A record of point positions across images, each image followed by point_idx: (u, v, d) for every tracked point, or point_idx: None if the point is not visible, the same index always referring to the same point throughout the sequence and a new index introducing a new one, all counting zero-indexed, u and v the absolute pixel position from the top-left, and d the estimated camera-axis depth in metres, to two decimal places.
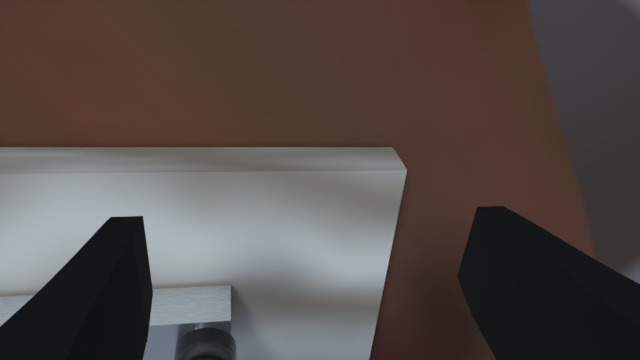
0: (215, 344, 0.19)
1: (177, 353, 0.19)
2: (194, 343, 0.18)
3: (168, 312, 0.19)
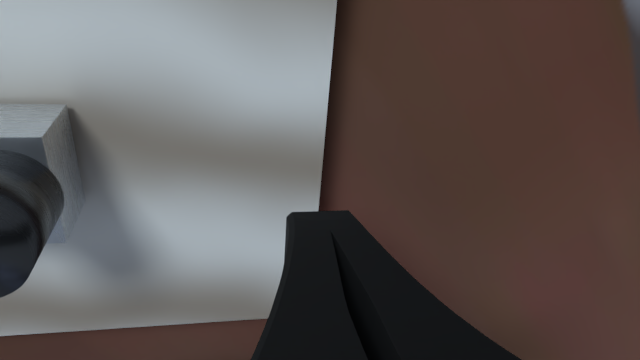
0: (4, 169, 0.10)
1: None
2: None
3: None
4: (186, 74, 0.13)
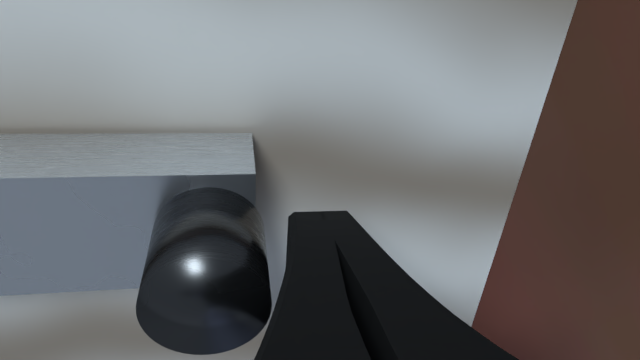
0: (227, 211, 0.10)
1: (154, 230, 0.10)
2: (187, 209, 0.10)
3: (138, 161, 0.10)
4: (404, 100, 0.12)
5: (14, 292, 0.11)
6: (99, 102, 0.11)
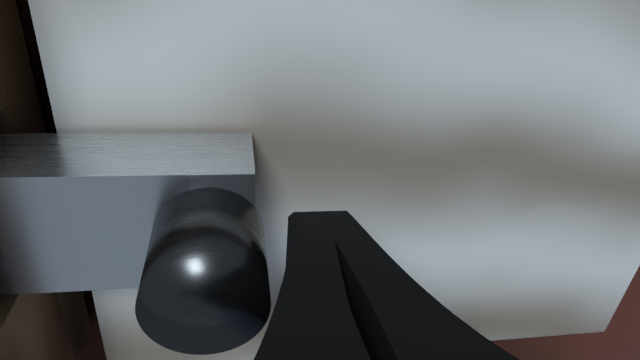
0: (227, 211, 0.10)
1: (154, 230, 0.10)
2: (186, 208, 0.10)
3: (138, 160, 0.10)
4: (604, 103, 0.13)
5: (13, 292, 0.11)
6: (345, 104, 0.12)
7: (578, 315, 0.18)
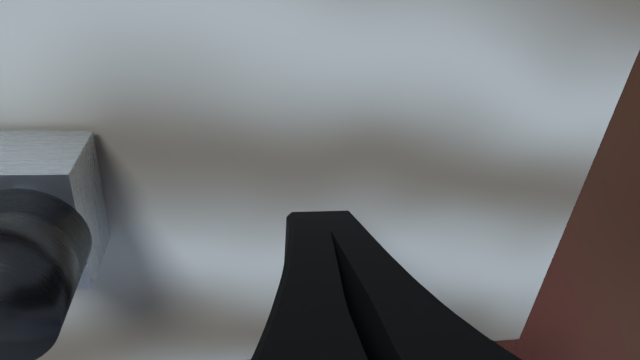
0: (26, 214, 0.09)
1: None
2: None
3: None
4: (484, 102, 0.13)
5: None
6: (198, 101, 0.11)
7: (488, 322, 0.17)
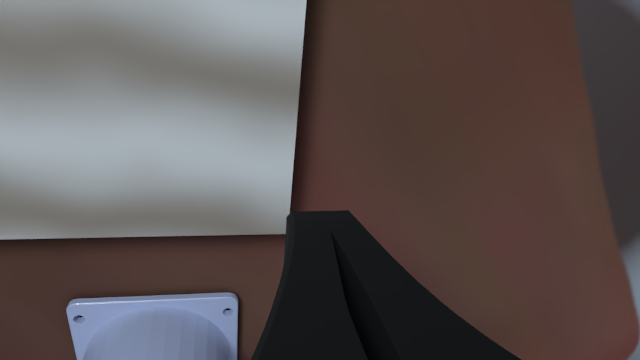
0: None
1: None
2: None
3: None
4: None
5: None
6: None
7: (253, 214, 0.20)
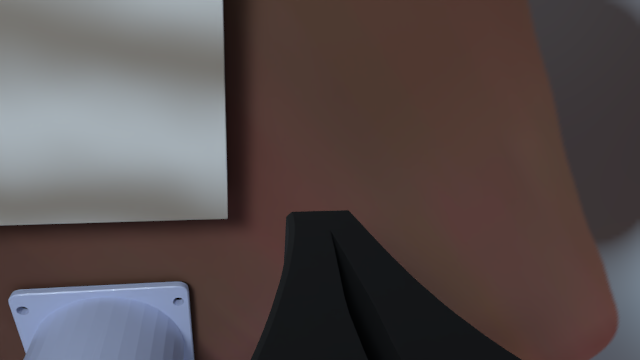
0: None
1: None
2: None
3: None
4: None
5: None
6: None
7: (188, 199, 0.19)
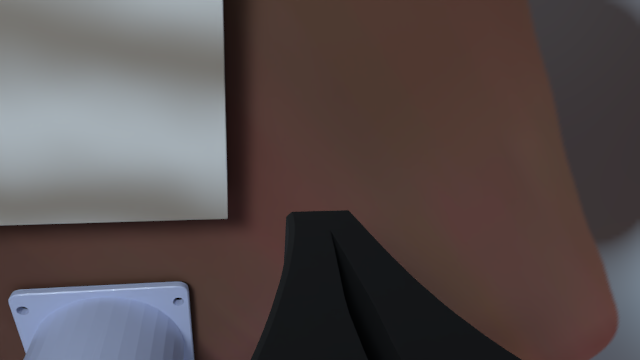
0: None
1: None
2: None
3: None
4: None
5: None
6: None
7: (188, 199, 0.19)
